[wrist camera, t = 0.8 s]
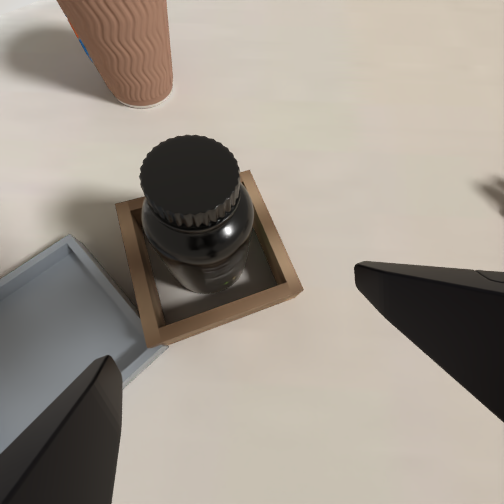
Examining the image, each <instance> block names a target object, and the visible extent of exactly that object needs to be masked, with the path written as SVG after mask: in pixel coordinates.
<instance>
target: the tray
mask: <svg viewBox="0 0 504 504" xmlns="http://www.w3.org/2000/svg"><path fill="white" fill-rule="evenodd" d="M168 347H169V346H168V345H162V344H161V345H159V346H156V347H153V348H147V346H146V342H145V337H144V332H143V328H142V323H141V319H140V314H139V311H138V309H137V308H136V307H135V306H134V305H133V303H132V302H131V301H130V300H129V299H128V297H127V296H126V295H125V294H124V293H123V291H122V290H121V289H120V288H119V287H118V285H117V284H116V283H115V282H114V281H113V279H112V278H111V277H110V276H109V275H108V273H107V272H106V271H105V270H104V269H103V267H102V266H101V265H100V264H99V263H98V261H97V260H96V259H95V258H94V257H93V255H92V254H91V253H90V252H89V251H88V249H87V248H86V247H85V246H84V245H83V243H81V242H80V241H79V240H77V239H76V238H75V237H73V236H72V235H71V234H68V235H67V236H65V237H64V238H62V239H61V240H59V241H58V242H56V243H55V244H53V245H52V246H50V247H49V248H47V249H46V250H44V251H42V252H41V253H39V254H38V255H36V256H35V257H33V258H32V259H30V260H29V261H27V262H26V263H24V264H23V265H21V266H19V267H18V268H16V269H15V270H13V271H12V272H10V273H9V274H7V275H6V276H4V277H3V278H1V279H0V454H1V453H2V452H3V451H4V450H5V449H6V448H7V447H8V446H9V445H10V444H11V443H12V442H13V441H14V440H15V439H16V438H17V437H18V436H19V435H20V434H21V433H22V432H23V431H24V430H25V429H26V428H27V427H28V426H29V425H30V424H31V423H32V422H33V421H34V420H35V419H36V418H37V417H38V416H39V415H40V414H41V413H42V412H43V411H44V410H45V409H46V408H47V407H48V406H49V405H50V404H51V403H52V402H53V401H54V400H55V399H56V398H57V397H58V396H59V395H60V394H61V393H62V392H63V391H64V390H65V389H66V388H67V387H68V386H69V385H70V384H71V383H72V382H73V381H74V380H75V379H76V378H77V377H78V376H79V375H80V374H81V373H82V372H83V371H84V370H85V369H86V368H87V367H88V366H89V365H90V364H91V363H92V362H93V361H94V360H95V359H97V358H100V357H103V356H105V355H110V356H111V357H112V358H113V360H114V361H115V363H116V365H117V367H118V369H119V370H120V372H121V375H122V379H123V388H122V390H123V389H124V388H125V387H126V386H127V385H128V384H129V383H130V382H131V381H132V380H134V379H135V378H136V377H137V376H138V375H139V374H140V373H141V372H142V371H143V370H144V369H145V368H147V367H148V366H149V365H150V364H151V363H152V362H153V361H154V360H155V359H156V358H157V357H158V356H159V355H161V354H162V353H163V352H164V351H165V350H166V349H167V348H168Z"/></svg>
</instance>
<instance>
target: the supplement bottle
mask: <svg viewBox="0 0 504 504" xmlns="http://www.w3.org/2000/svg"><path fill="white" fill-rule="evenodd" d="M140 170H141V173H140V176H139V178H140V180H141V183H140V185H141V188H142V190H143V192H144V195H145V199H144V202H143V206H142V212H141V219H142V226H143V229H144V232H145V234H146V237H147V238H148V240H149V242H150V244H151V245H152V247H153V248H154V249H155V251H156V252H157V254H158V255H159V256H160V258H161V259H162V261H163V262H164V263H165V265H166V266H167V268H168V269H169V270H170V272H171V273H172V275H173V276H174V277H175V278H176V280H177V281H178V282H179V283H180V284H181V285H182V286H184V287H185V288H187V289H189V290H191V291H193V292H196V293H202V294H212V293H217V292H220V291H223V290H225V289H227V288H229V287H230V286H232V285H233V284H234V283H235V282H236V281H237V280H238V279H239V277H240V276H241V274H242V272H243V270H244V268H245V265H246V260H247V255H248V250H249V244H250V239H251V233H252V228H253V221H254V209H253V203H252V200H251V197H250V195H249V193H248V191H247V190H246V188H245V187H244V185H243V184H242V183H241V182H240V169H239V167H238V163H237V160H236V159H235V158H234V155H233V154H232V153H231V152H229V150H228V148H227V147H225V146H223V145H222V144H221V143H219V142H216V141H215V140H214V139H210V138H207V137H205V136H198V135H192V136H191V135H184V136H177V137H175V138H170V139H168V140H166V141H164V142H161V143H160V144H159V145H158V146H156V147H153V149H152V151H151V152H149V153H148V154H147V157H146V158H145V159H144V160H143V165H142V166H141V168H140Z"/></svg>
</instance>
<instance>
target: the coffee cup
mask: <svg viewBox="0 0 504 504" xmlns="http://www.w3.org/2000/svg"><path fill="white" fill-rule="evenodd" d="M57 2H58V3H59V5H60V7H61V9H62V10H63V12H64V14H65V16H66V17H67V18H68V21H69V23H70V25H71V27H72V29H73V30H74V32H75V34H76V36H77V38H78V39H79V41H80V43H81V45H82V47H83V48H84V50H85V52H86V54H87V55H88V57H89V58H90V60H91V61H92V62H93V63H94V64H95V66H96V68H97V70H98V71H99V73H100V74H101V76H102V78H103V80H104V81H105V83H106V85H107V86H108V88H109V89H110V91H112V93H113V94H114V96H115V97H116V98H117V100H119V101H120V102H121V103H123V104H125V105H127V106H130V107H134V108H150V107H154V106H157V105H159V104H161V103H163V102H164V101H165V100H166V99H168V97H169V96H170V95H171V92H172V86H173V84H172V82H173V72H172V61H171V50H170V38H169V26H168V15H167V3H166V0H57Z"/></svg>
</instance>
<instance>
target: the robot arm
mask: <svg viewBox="0 0 504 504" xmlns="http://www.w3.org/2000/svg"><path fill="white" fill-rule="evenodd" d="M354 273H355V284H356V287H357V288H358V290H359V291H360V292H361V293H362V294H363V295H364V296H365V297H366V298H367V299H368V301H369V302H370V303H371V304H372V305H373V306H374V307H375V308H376V309H377V310H378V311H379V312H380V313H381V314H382V315H383V316H384V317H385V318H386V319H387V320H388V321H389V322H390V323H391V324H392V325H394V326H395V327H396V328H397V329H398V330H399V331H400V332H401V333H403V334H404V335H405V336H406V337H407V338H408V339H409V340H411V341H412V342H413V343H414V344H415V345H416V346H417V347H419V348H420V349H421V350H422V351H423V352H424V353H425V354H426V355H428V356H429V357H430V358H431V359H432V360H433V361H434V362H436V363H437V364H438V365H439V366H440V367H441V368H442V369H444V370H445V371H446V372H447V373H448V374H449V375H450V376H451V377H453V378H454V379H455V380H456V381H457V382H458V383H459V384H461V385H462V386H463V387H464V388H465V389H466V390H467V391H468V392H470V393H471V394H472V395H473V396H474V397H475V398H476V399H478V400H479V401H480V402H481V403H482V404H483V405H484V406H486V407H487V408H488V409H489V410H490V411H491V412H492V413H493V414H495V415H496V416H497V417H498V418H499V419H500V420H501V421H503V422H504V272H496V271H483V270H475V271H474V270H470V269H458V268H445V267H433V266H421V265H408V264H396V263H384V262H371V261H363V262H360V263H358V264H356V265H355V267H354ZM122 388H123V379H122V375H121V372H120V370H119V369H118V367H117V365H116V363H115V361H114V360H113V358H112V357H111V356H110V355H105V356H103V357H100V358H97V359H95V360H94V361H93V362H92V363H91V364H90V365H89V366H88V367H87V368H86V369H85V370H84V371H83V372H82V373H81V374H80V375H79V376H78V377H77V378H76V379H75V380H74V381H73V382H72V383H71V384H70V385H69V386H68V387H67V388H66V389H65V390H64V391H63V392H62V393H61V394H60V395H59V396H58V397H57V398H56V399H55V400H54V401H53V402H52V403H51V404H50V405H49V406H48V407H47V408H46V409H45V410H44V411H43V412H42V413H41V414H40V415H39V416H38V417H37V418H36V419H35V420H34V421H33V422H32V423H31V424H30V425H29V426H28V427H27V428H26V429H25V430H24V431H23V432H22V433H21V434H20V435H19V436H18V437H17V438H16V439H15V440H14V441H13V442H12V443H11V444H10V445H9V446H8V447H7V448H6V449H5V450H4V451H3V452H2V453H1V454H0V504H111V503H112V496H113V488H114V481H115V474H116V466H117V459H118V452H119V444H120V437H121V426H122Z"/></svg>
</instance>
